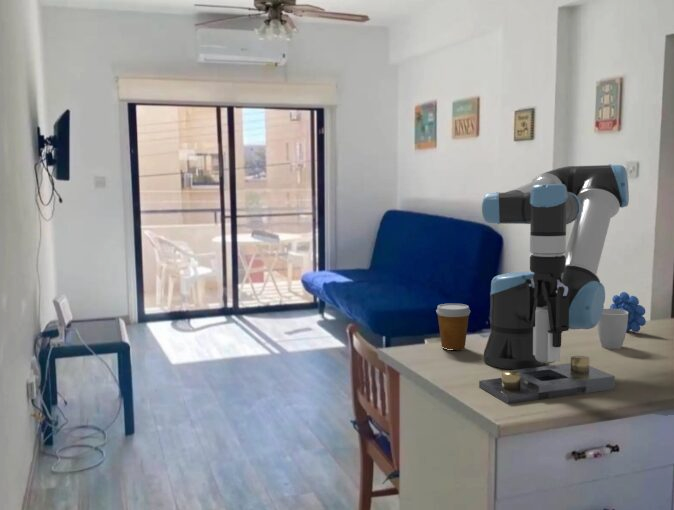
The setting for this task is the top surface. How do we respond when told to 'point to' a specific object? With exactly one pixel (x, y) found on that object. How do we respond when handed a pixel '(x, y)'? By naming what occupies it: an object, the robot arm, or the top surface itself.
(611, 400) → the top surface
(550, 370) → the marble inkwell stand
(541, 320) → the beverage can
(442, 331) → the disposable coffee cup
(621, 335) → the cup
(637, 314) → the grapes
